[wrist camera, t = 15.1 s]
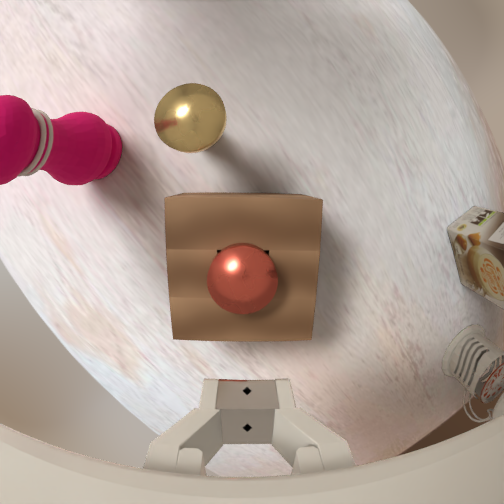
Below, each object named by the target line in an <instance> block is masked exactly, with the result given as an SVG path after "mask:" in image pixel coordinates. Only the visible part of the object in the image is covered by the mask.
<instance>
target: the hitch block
mask: <svg viewBox="0 0 504 504" xmlns="http://www.w3.org/2000/svg"><path fill="white" fill-rule="evenodd" d="M322 206H323V200H322V199H318V198H314V197H311V196H307V195H303V194H279V193H182V194H178V195H174V196H170V197H166V198H165V233H166V255H167V273H168V287H169V300H170V311H171V322H172V332H173V339H178V340H201V341H298V340H311V338H312V330H313V321H314V312H315V302H316V292H317V281H318V269H319V256H320V242H321V226H322ZM235 243H250V244H253V245H256V246H258V247H260V248H261V249H263V250H264V251H265V252H266V253H267V254H268V255H269V256H270V258H271V259H272V261H273V263H274V266H275V269H276V272H277V276H278V286H277V290H276V293H275V295H274V297H273V299H272V300H271V301H270V302H269V303H268V304H267V305H266V306H265V307H264V308H262V309H261V310H259V311H256V312H254V313H250V314H235V313H231V312H228V311H226V310H224V309H223V308H221V307H220V306H219V305H217V304H216V303H215V301H214V300H213V299H212V297H211V295H210V293H209V291H208V287H207V275H208V271H209V268H210V265H211V262H212V260H213V259H214V257H215V256H216V254H217V253H218V252H219V251H221V250H222V249H223V248H225V247H227V246H229V245H231V244H235Z"/></svg>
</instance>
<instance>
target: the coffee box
mask: <svg viewBox="0 0 504 504" xmlns="http://www.w3.org/2000/svg"><path fill="white" fill-rule="evenodd" d="M447 231H448V234H449V238H450V241H451V245H452V248H453V252H454V256H455V260H456V264H457V268H458V272H459V277H460V281H461V284H462V285H464V286H466V287H468V288H469V289H471V290H473V291H474V292H476V293H478V294H479V295H481V296H483V297H484V298H486V299H488V300H489V301H491V302H493V303H494V304H496V305H497V306H499V307H501V308H502V309H504V213H502V212H498V211H494V210H489V209H485V208H481V207H476V206H474V207H472V208H471V209H470V210H468V211H467V212H466V213H465V214H463V215H462V216H461V217H460V218H458V219H457V220H456V221H455V222H453V223H452V224H451V225H450V226H448V228H447Z"/></svg>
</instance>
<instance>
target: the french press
mask: <svg viewBox="0 0 504 504" xmlns="http://www.w3.org/2000/svg"><path fill="white" fill-rule="evenodd" d="M486 349H488V352H486ZM500 356H502V364H501V365H500V366H499V357H500ZM495 359H497V367H496V369H495V370H494V372H493V373H492V370H493V368H494V364H495ZM491 363H492V365H491V367H490V370H489V372H488V373H486V374H485V375H484V376H483V377H481V375H482V374H483V373H484V372H485V371H486V370H487V368H488V366H489V365H490V364H491ZM442 370H443V372H444V374H445V375H447V376H449V377H453V376H455V377H456V379H457V380H458V381H459V382H460V383H461V384H462V385H463V386H464V387H465V392H464V396H463V406H464V409H465V412H466V414H467V415H468V417H469V418H470V419H471V420H473V421H476V422H483V421H488V420H490V419H492V418H493V419H495V418H497V417H499V416H501V415H503V414H504V393H503V394H502V396H501V397H500V398H499V400H498V402H497V404H496V406H495V408H494V410H493V409H488V410H487V412H488V413H489V417H488V418H486V419H481V418H479V417H477V415H476V414H475V413H474V412H473V410H472V408H471V404H470V397H471V394H472V395H473V396H474V397H475V398H476V399H478V398H477V397H476V396H475V395H474V391H475V393H476V394H477V395H478V396H479V397H480V398H481V401H482V403H488V402H490V401H493V399H495V398H496V397H497V396H498V395H499V394H500V393H502V391H503V390H504V351H502V350H501V349H500V348H498V347H497V346H496V345H495V344H493V343H492V342H491V341H489V340H488V339H487V338H486V337H485V332H484V329H483V327H481V326H480V325H478V324H477V325H470V326H469V327H467V328H465V329H463V330H462V331H461V332H460V333H459V334H458V335H457V336H456V337H455V338H454V339H453V340H452V342H451V343H450V345H449V347H448V348H447V350H446V352H445V355H444V357H443V360H442ZM474 372H475V375H474V374H473V373H474ZM491 373H492V374H491ZM490 374H491V375H490ZM489 375H490V377H489V378H488V380H487V381H485V382H483V383H482V382H481V381H482V380H484V379H485V378H487V377H488V376H489ZM458 376H460V379H459V377H458ZM480 377H481V378H480ZM463 380H464V381H465V383H463V382H462V381H463ZM467 384H468V385H469V386H470V387H469V388H468V387H467ZM466 389H467V390H468V391H469V392H470V395H469V406H470V409H471V412H472V413H473V414H474V416H475V417H476V418H478V419H480V420H475V419H473V418H472V417H471V416H470V415H469V413H468V412H467V411H466V407H465V404H464V402H465V394H466ZM490 410H491V411H493V417H491V418H490V416H491V414H490V412H489V411H490ZM489 418H490V419H489Z"/></svg>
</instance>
